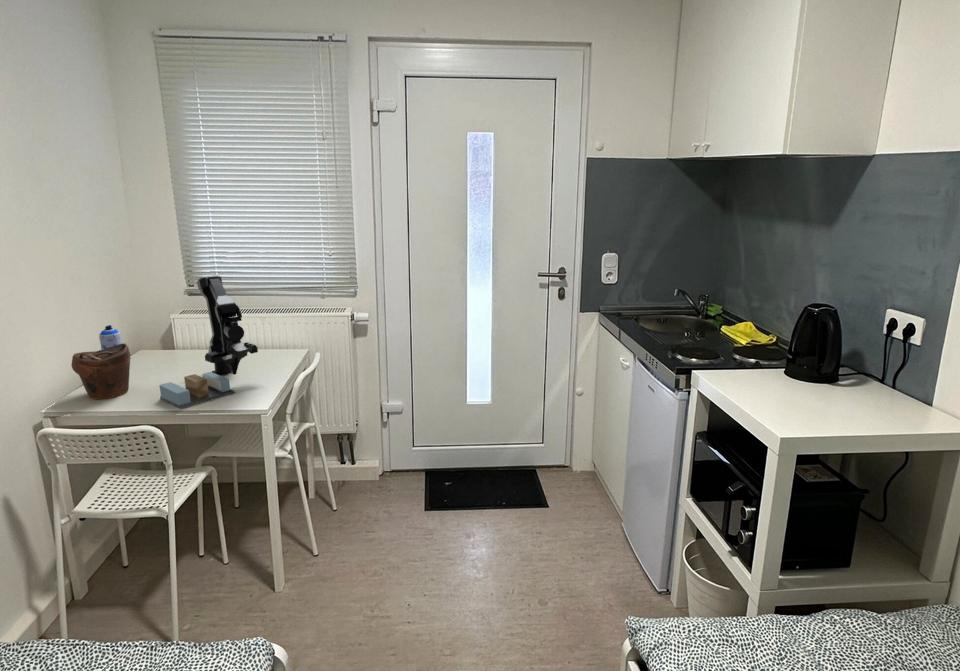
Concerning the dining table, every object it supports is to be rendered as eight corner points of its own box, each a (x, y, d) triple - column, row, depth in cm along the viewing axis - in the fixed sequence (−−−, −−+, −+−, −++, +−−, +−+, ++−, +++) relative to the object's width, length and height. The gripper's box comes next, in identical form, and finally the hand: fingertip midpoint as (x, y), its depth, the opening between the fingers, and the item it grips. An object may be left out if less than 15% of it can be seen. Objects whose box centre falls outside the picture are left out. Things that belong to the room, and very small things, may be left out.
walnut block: (198, 397, 226) (196, 381, 224) (186, 392, 231) (184, 376, 230) (208, 394, 229) (206, 378, 227) (196, 389, 234) (194, 374, 233)
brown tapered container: (64, 400, 226) (56, 353, 222) (109, 383, 245) (102, 339, 240) (104, 406, 222) (96, 357, 217) (147, 387, 240) (141, 342, 236)
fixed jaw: (161, 396, 227) (159, 385, 226) (173, 393, 230) (171, 381, 229) (179, 405, 218) (177, 393, 217) (191, 402, 221) (189, 390, 220)
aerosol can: (120, 375, 253) (112, 328, 248) (101, 376, 253) (92, 328, 248) (130, 369, 261) (123, 323, 256) (112, 370, 261) (104, 323, 256)
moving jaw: (203, 384, 238) (201, 374, 237) (211, 382, 241) (210, 371, 240) (221, 392, 230) (220, 381, 228) (230, 390, 232) (228, 379, 231)
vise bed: (160, 398, 228) (159, 396, 227) (213, 384, 242) (212, 381, 242) (180, 408, 218) (180, 406, 217) (234, 393, 232) (234, 390, 232)
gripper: (216, 344, 224) (222, 385, 228) (263, 333, 238) (267, 372, 242) (201, 338, 231) (207, 378, 235) (248, 328, 245) (252, 366, 249)
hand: (234, 374), depth 240 cm, fingers closed
